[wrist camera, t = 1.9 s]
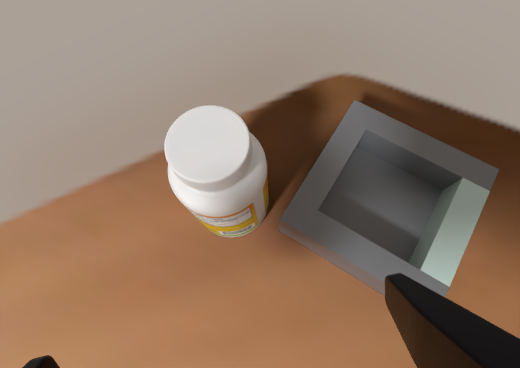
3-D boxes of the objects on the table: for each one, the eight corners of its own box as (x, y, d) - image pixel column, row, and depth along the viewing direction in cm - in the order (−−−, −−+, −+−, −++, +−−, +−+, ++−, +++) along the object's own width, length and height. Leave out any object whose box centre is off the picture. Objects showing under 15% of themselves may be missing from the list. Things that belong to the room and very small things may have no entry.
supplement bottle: (226, 156, 25) (198, 73, 16) (283, 193, 23) (289, 126, 14) (182, 211, 23) (123, 155, 14) (240, 253, 22) (216, 222, 13)
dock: (411, 312, 20) (437, 314, 17) (278, 230, 22) (279, 219, 19) (467, 187, 23) (499, 169, 20) (344, 125, 25) (354, 99, 22)
